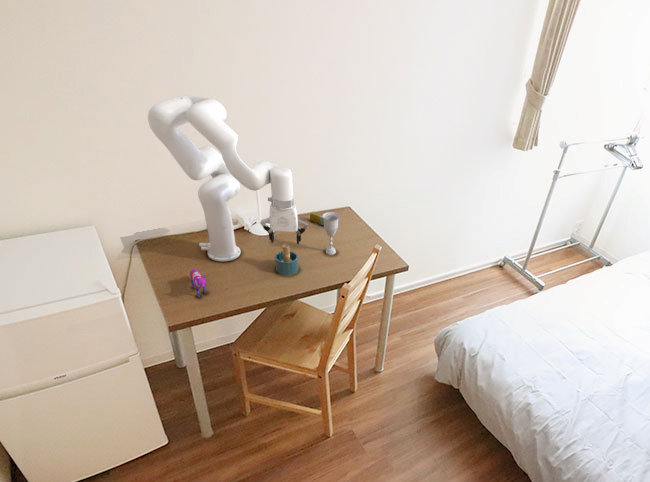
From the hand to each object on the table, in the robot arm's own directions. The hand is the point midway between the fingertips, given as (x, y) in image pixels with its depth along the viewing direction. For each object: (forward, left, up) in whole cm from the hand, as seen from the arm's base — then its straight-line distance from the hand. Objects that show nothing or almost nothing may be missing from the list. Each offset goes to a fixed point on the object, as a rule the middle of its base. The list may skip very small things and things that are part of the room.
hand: (285, 241), depth 180 cm
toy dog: (-30, -16, -14) cm, 36 cm away
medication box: (+12, +41, -14) cm, 45 cm away
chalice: (+17, +15, -14) cm, 26 cm away
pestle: (0, 0, -13) cm, 13 cm away
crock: (0, 0, -13) cm, 13 cm away
